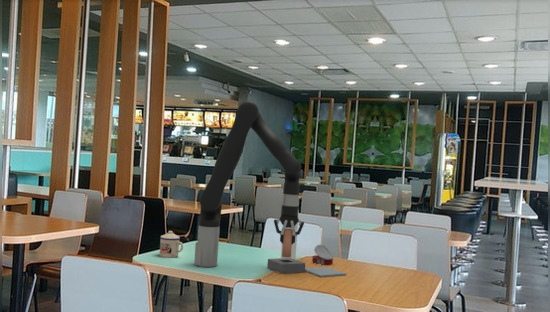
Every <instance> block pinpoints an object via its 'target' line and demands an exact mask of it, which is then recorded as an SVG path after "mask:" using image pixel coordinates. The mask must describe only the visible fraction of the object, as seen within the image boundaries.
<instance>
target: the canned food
mask: <svg viewBox="0 0 550 312" xmlns="http://www.w3.org/2000/svg"><path fill="white" fill-rule="evenodd" d="M313 250H314V253H315V254H316V255H312V259H311V260H312V261H311V263H312V262H313V263H312V264H314V263H316V264H315V265H317V264H321V265H320V266H332V265H333V262H334V260H333V259H334V255H333V253H332V252H331V251H330V250H329V249H328V248H327V247H326V246H325V245H323V244H317V245H316V246H314V249H313ZM331 264H332V265H331Z"/></svg>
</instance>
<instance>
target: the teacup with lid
mask: <svg viewBox="0 0 550 312" xmlns="http://www.w3.org/2000/svg"><path fill="white" fill-rule="evenodd" d="M180 239H181V237H180V236H179V235H177V234H175V233H174V232H173V231H172V230H168V232H167V233H165V234H163V235H160V242H159V243H160V244H159V257H162V258H170V259H171V258H178V257H179V253H181V252H183V250H184V243H183V242H181V241H180ZM179 248H180V249H179Z"/></svg>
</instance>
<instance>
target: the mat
mask: <svg viewBox="0 0 550 312" xmlns="http://www.w3.org/2000/svg"><path fill="white" fill-rule="evenodd" d="M305 271H306V273H308V274H311V275H313V276H315V277H319V278H327V277H328V278H329V277H342V276H347V273H346V272H344V271H340V270H337V269H334V268H330V267H329V266H318V267H317V266H316V267H305Z"/></svg>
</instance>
